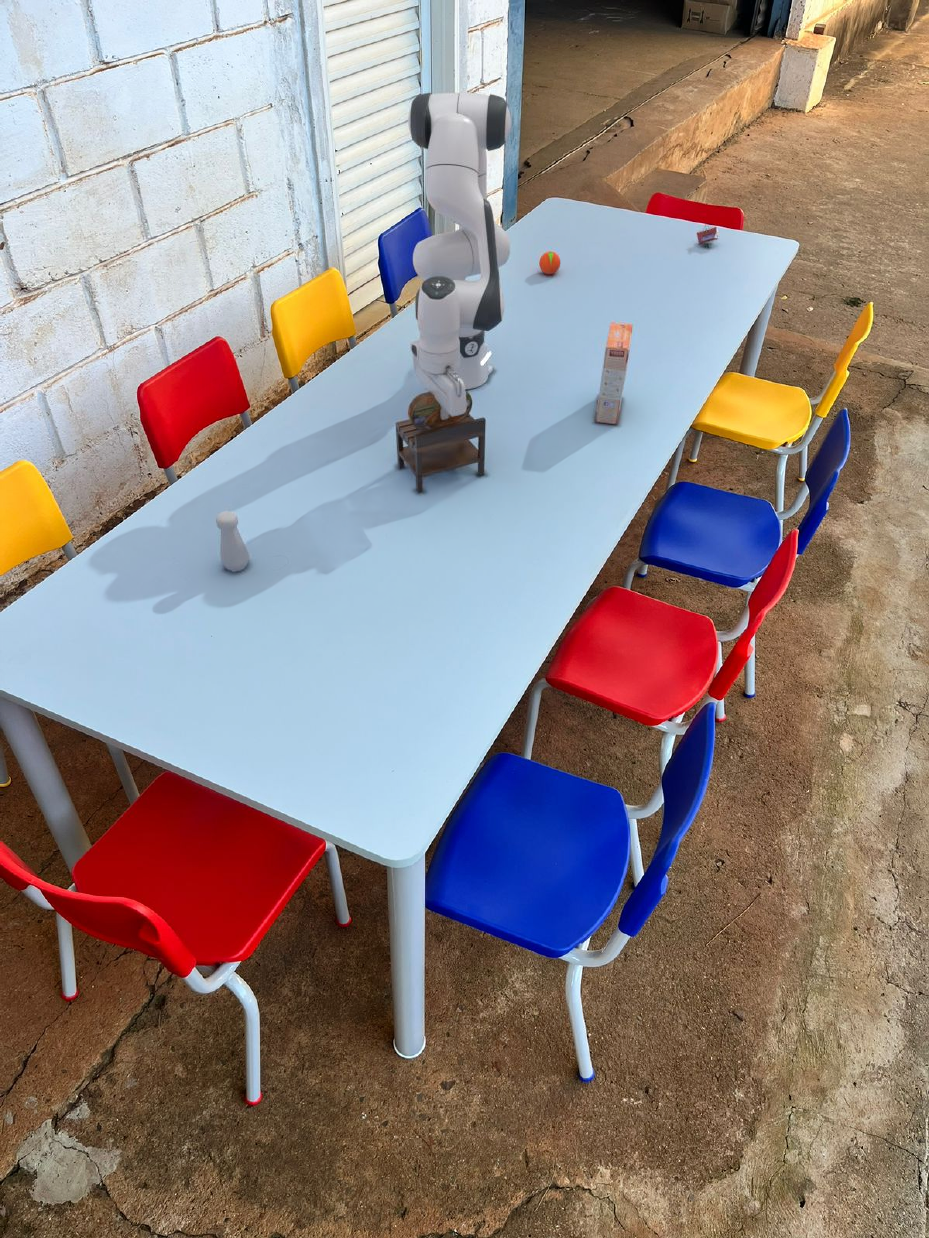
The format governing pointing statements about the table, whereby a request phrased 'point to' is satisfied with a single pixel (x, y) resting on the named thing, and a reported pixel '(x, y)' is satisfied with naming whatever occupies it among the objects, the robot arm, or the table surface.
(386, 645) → the table surface
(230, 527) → the salt shaker
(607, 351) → the cracker box
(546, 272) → the clementine
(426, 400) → the tin
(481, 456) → the rack
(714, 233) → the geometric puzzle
